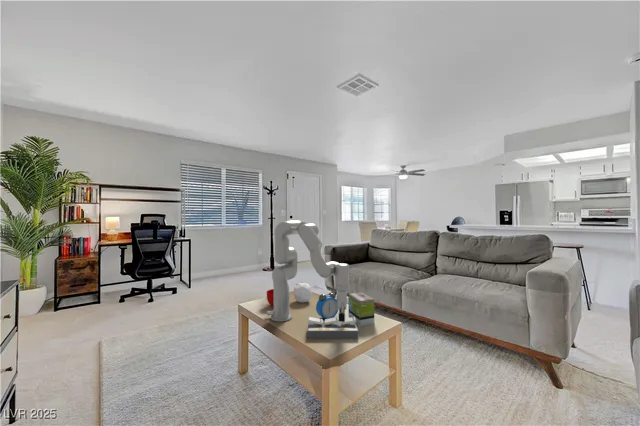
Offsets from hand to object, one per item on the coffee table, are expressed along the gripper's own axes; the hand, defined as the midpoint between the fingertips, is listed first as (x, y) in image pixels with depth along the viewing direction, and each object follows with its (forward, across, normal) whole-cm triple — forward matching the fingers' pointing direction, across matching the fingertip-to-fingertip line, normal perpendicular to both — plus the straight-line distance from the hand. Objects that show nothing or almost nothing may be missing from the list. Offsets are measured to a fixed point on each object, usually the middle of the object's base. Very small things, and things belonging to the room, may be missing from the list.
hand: (341, 320), depth 149 cm
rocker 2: (+1, 0, -5) cm, 5 cm away
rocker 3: (+1, 0, +4) cm, 4 cm away
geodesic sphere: (+7, -51, -25) cm, 57 cm away
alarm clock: (+7, -20, -7) cm, 22 cm away
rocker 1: (+1, 0, -14) cm, 14 cm away
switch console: (+6, +2, -5) cm, 8 cm away
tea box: (+6, -16, +13) cm, 22 cm away
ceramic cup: (+7, -44, -44) cm, 62 cm away
